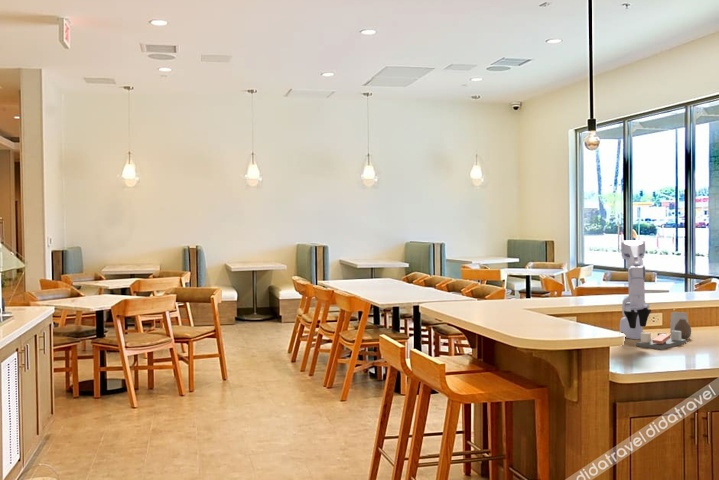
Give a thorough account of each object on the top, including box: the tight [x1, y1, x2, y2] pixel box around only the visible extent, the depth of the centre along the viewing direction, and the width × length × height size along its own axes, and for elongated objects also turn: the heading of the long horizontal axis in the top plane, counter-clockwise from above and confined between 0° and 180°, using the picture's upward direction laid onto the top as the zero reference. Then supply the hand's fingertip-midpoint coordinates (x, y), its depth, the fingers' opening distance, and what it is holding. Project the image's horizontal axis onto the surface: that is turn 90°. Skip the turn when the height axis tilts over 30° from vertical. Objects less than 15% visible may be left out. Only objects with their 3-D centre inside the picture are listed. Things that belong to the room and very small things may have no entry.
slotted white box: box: [670, 330, 682, 341], centre depth 300 cm, size 3×2×4 cm
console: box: [635, 338, 687, 350], centre depth 300 cm, size 11×20×2 cm, turn 127°
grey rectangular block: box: [669, 311, 689, 333], centre depth 323 cm, size 4×7×10 cm, turn 48°
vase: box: [674, 319, 692, 340], centre depth 312 cm, size 7×7×9 cm
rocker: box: [652, 333, 671, 344], centre depth 294 cm, size 4×7×2 cm, turn 127°
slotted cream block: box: [640, 331, 652, 343], centre depth 298 cm, size 3×2×4 cm
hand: (637, 327), depth 294 cm, fingers open, 7 cm apart
